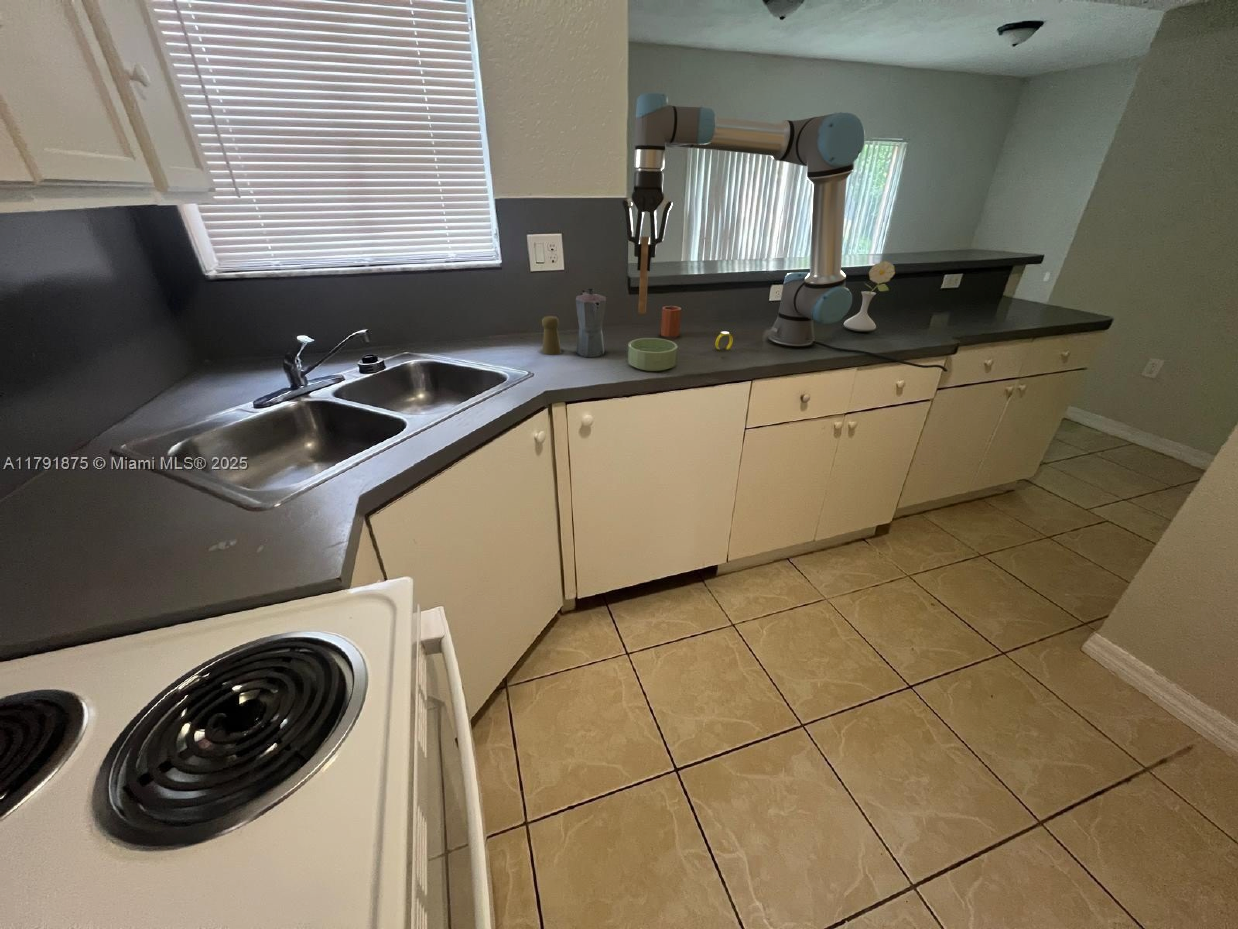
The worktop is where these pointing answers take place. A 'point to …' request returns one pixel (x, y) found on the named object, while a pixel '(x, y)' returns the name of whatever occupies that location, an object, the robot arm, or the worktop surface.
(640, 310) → the stirring stick
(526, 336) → the worktop surface
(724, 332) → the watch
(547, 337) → the olive pepper grinder
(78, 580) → the worktop surface
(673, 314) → the utensil pot
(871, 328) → the flower in vase
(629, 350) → the bowl
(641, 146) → the robot arm
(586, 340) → the moka pot
